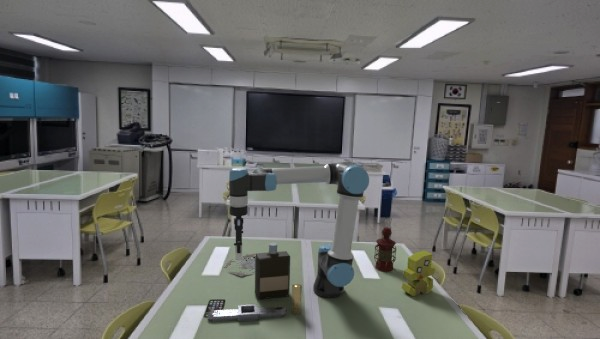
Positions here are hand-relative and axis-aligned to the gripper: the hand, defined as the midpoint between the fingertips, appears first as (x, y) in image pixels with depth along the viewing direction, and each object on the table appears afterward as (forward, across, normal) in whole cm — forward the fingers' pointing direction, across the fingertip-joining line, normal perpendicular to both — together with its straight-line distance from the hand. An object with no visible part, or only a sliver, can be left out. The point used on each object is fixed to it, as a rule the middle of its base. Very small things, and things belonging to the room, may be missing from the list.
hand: (238, 254), depth 156 cm
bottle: (+26, -13, +16) cm, 33 cm away
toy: (+27, -8, +88) cm, 92 cm away
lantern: (+27, -38, +82) cm, 95 cm away
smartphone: (+26, -3, -10) cm, 28 cm away
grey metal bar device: (+26, +5, +4) cm, 26 cm away
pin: (+26, +4, +25) cm, 36 cm away
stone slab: (+26, -52, +6) cm, 59 cm away
